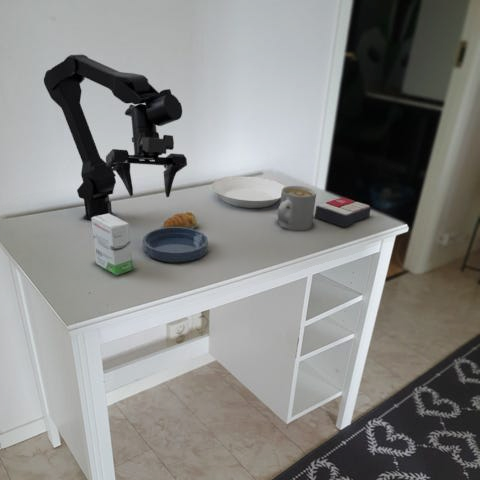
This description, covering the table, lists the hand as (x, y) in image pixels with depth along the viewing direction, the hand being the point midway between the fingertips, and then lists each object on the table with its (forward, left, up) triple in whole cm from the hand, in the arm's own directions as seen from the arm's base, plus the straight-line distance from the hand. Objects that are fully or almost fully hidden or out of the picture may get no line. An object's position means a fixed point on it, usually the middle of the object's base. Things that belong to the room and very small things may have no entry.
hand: (150, 196), depth 119 cm
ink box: (-5, -13, -14) cm, 20 cm away
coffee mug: (+33, +28, -14) cm, 45 cm away
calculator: (+48, +40, -14) cm, 64 cm away
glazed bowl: (+6, +1, -14) cm, 15 cm away
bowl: (+17, +47, -14) cm, 51 cm away
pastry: (+3, +16, -14) cm, 21 cm away
